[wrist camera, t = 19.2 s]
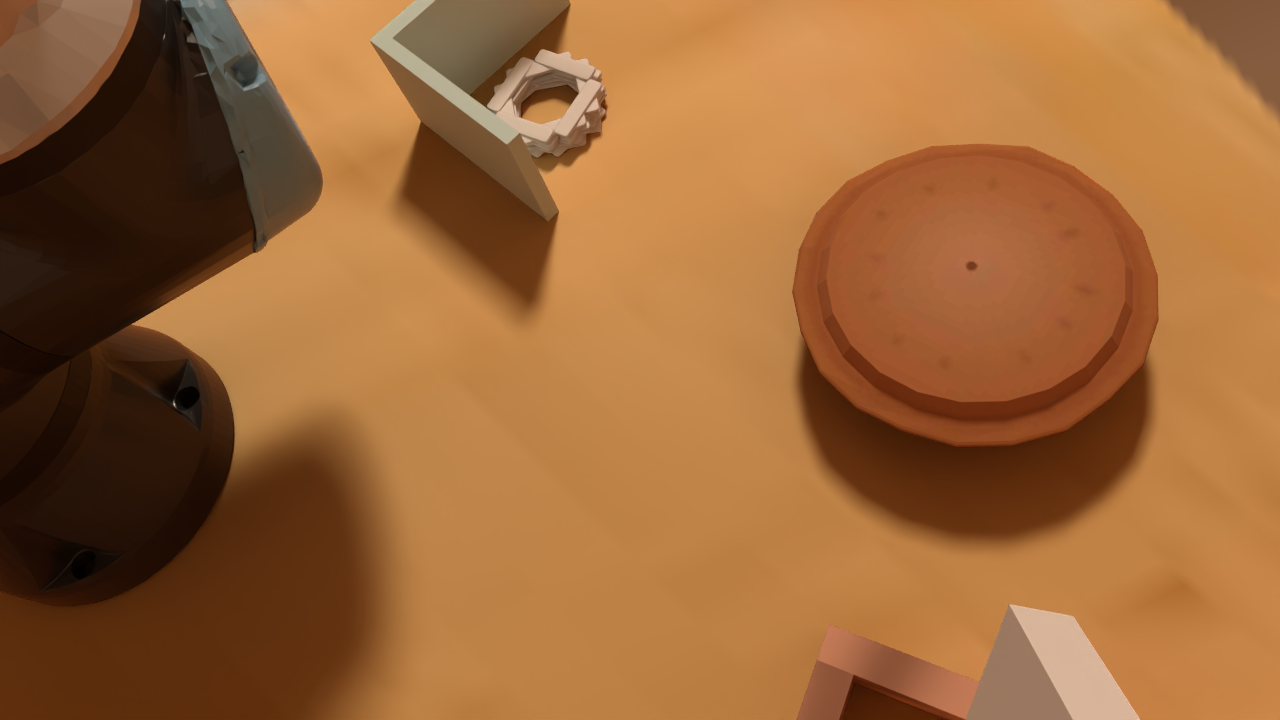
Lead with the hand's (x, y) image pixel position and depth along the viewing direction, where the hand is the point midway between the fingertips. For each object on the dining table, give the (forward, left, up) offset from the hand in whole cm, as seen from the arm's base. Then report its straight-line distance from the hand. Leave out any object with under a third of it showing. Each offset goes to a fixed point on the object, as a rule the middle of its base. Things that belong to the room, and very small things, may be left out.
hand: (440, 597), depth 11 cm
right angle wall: (-23, +29, -33) cm, 50 cm away
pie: (+3, +22, -32) cm, 39 cm away
